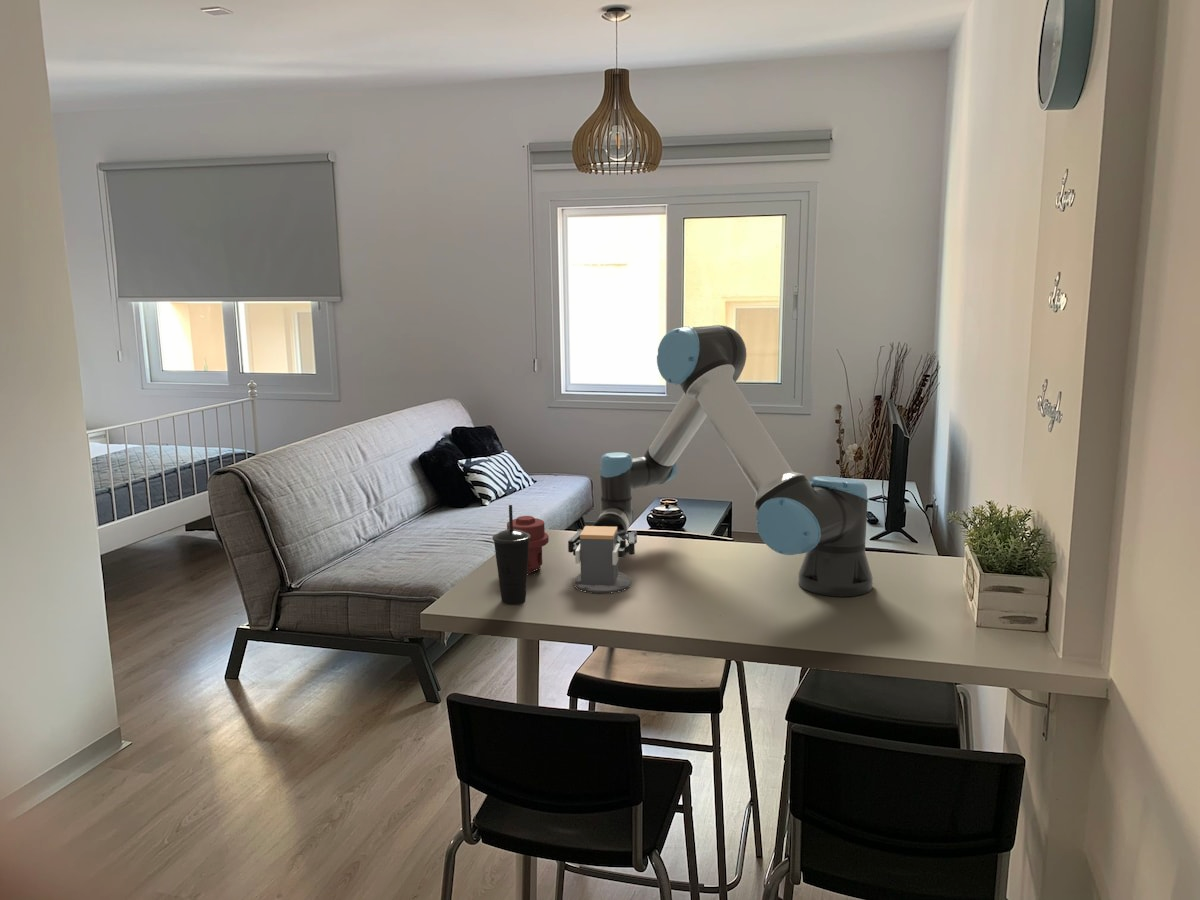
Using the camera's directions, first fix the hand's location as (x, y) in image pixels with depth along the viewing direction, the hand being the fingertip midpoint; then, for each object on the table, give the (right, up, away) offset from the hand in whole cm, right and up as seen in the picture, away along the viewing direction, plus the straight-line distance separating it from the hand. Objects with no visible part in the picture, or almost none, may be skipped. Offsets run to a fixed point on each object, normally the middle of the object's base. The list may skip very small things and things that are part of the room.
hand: (595, 557), depth 187 cm
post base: (+1, -7, +7) cm, 9 cm away
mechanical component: (-16, -5, +16) cm, 23 cm away
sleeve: (+1, -5, +6) cm, 8 cm away
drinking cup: (-17, -9, -3) cm, 19 cm away
